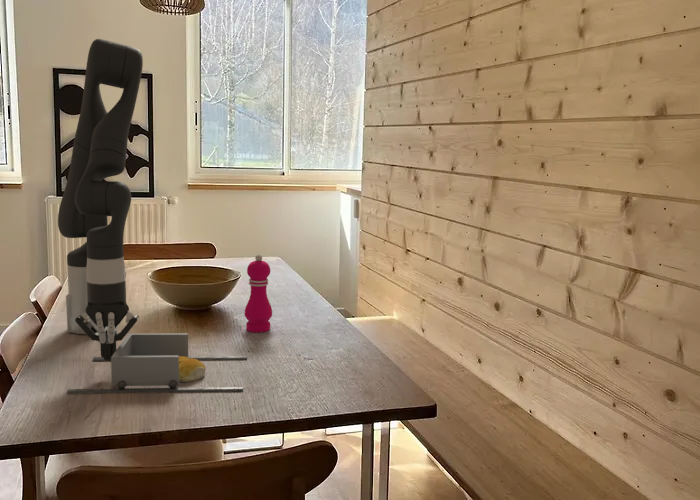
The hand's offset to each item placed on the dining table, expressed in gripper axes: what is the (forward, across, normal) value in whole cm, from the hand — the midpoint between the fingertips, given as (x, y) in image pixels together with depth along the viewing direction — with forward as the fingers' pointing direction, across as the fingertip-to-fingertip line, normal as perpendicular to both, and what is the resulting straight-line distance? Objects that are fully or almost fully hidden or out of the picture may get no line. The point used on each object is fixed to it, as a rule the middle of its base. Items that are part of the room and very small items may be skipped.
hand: (109, 359), depth 141 cm
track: (+4, +11, 0) cm, 12 cm away
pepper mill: (+4, +30, +33) cm, 45 cm away
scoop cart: (+4, +9, 0) cm, 10 cm away
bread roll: (+4, +16, 0) cm, 16 cm away
